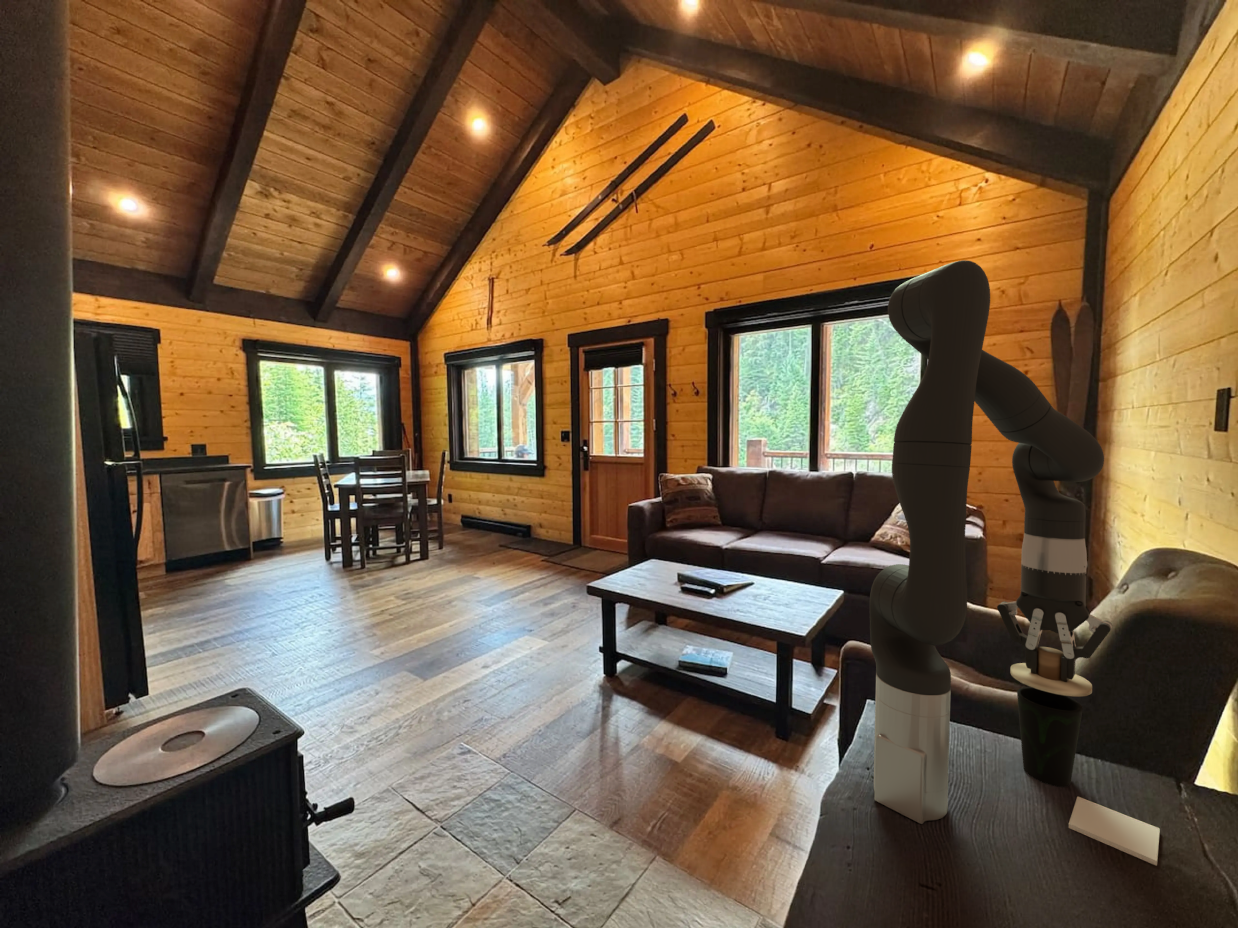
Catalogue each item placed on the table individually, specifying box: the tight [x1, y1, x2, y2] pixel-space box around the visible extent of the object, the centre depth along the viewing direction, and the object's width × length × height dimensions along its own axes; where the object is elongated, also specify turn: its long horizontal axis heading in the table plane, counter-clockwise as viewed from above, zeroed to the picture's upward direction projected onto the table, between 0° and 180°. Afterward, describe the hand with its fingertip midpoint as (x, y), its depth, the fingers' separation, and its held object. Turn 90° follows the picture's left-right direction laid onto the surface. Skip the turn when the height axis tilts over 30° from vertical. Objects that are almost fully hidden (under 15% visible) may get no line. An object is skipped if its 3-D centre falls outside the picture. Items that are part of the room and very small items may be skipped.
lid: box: [1010, 646, 1093, 697], centre depth 77 cm, size 10×10×5 cm
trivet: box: [1068, 796, 1161, 867], centre depth 66 cm, size 8×8×1 cm
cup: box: [1016, 686, 1084, 788], centre depth 77 cm, size 8×8×12 cm
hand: (1049, 675), depth 77 cm, fingers closed on lid, 3 cm apart
